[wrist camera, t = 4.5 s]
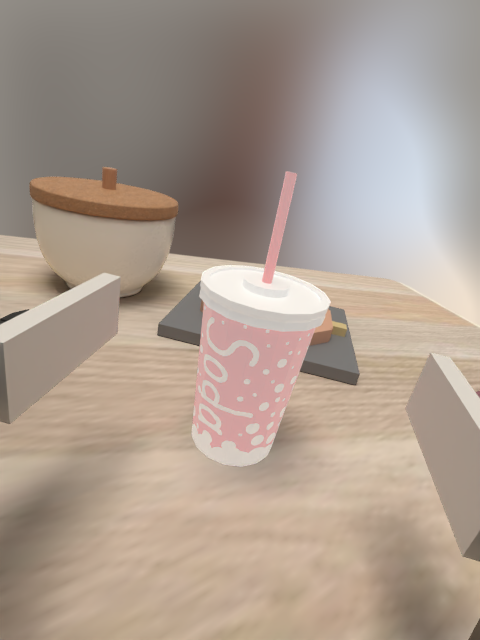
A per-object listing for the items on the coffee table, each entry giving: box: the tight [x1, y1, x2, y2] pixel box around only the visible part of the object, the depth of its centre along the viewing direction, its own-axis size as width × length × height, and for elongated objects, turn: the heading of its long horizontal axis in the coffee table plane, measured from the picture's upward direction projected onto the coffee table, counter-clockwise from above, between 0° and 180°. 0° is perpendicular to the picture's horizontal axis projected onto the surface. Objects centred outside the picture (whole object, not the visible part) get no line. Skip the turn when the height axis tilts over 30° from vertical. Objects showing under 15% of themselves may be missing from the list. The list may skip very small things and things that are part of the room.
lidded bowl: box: [30, 167, 178, 298], centre depth 35 cm, size 13×13×11 cm
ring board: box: [158, 281, 359, 385], centre depth 35 cm, size 16×14×2 cm
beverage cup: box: [192, 171, 331, 467], centre depth 18 cm, size 6×6×14 cm
